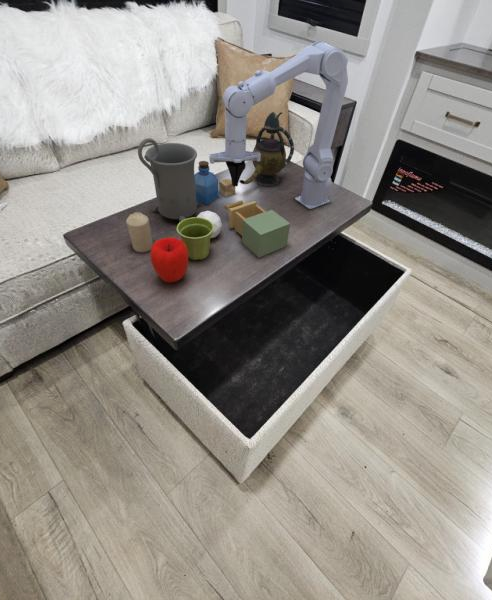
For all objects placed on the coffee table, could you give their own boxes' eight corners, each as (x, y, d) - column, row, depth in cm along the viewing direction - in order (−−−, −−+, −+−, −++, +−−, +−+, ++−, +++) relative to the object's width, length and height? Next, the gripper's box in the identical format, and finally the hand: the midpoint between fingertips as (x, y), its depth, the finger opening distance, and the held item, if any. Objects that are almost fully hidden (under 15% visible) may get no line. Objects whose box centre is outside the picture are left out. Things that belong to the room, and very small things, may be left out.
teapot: (292, 176, 128) (302, 109, 111) (255, 202, 113) (260, 129, 96) (266, 167, 132) (272, 101, 115) (227, 190, 117) (227, 119, 101)
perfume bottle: (218, 197, 114) (217, 162, 105) (206, 204, 110) (205, 169, 101) (203, 191, 116) (202, 157, 107) (192, 198, 112) (189, 163, 104)
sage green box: (241, 242, 97) (242, 219, 92) (269, 232, 102) (271, 209, 96) (258, 258, 93) (260, 234, 87) (286, 246, 97) (290, 223, 92)
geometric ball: (211, 247, 99) (209, 239, 91) (190, 230, 99) (186, 221, 91) (227, 227, 100) (227, 218, 92) (206, 211, 100) (204, 200, 92)
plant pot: (200, 269, 88) (198, 242, 82) (172, 255, 91) (168, 229, 85) (221, 251, 94) (220, 225, 87) (194, 239, 97) (192, 213, 91)
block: (228, 189, 118) (228, 178, 115) (235, 194, 116) (235, 183, 113) (219, 191, 117) (219, 180, 114) (225, 196, 114) (225, 186, 112)
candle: (148, 254, 91) (141, 222, 84) (129, 250, 91) (121, 219, 84) (156, 242, 95) (150, 211, 88) (138, 239, 95) (131, 207, 88)
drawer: (220, 219, 103) (220, 201, 99) (244, 211, 107) (245, 193, 103) (242, 239, 97) (243, 220, 93) (267, 229, 101) (269, 211, 97)
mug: (182, 196, 113) (174, 116, 95) (214, 213, 107) (212, 131, 89) (136, 219, 102) (117, 133, 84) (169, 239, 96) (155, 151, 78)
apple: (174, 295, 81) (168, 260, 73) (147, 280, 84) (139, 246, 76) (197, 275, 86) (194, 241, 79) (171, 262, 89) (166, 228, 81)
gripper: (211, 145, 87) (213, 193, 97) (264, 143, 90) (261, 189, 100) (207, 134, 92) (209, 181, 102) (258, 133, 95) (255, 178, 105)
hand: (234, 184), depth 101 cm, fingers closed
